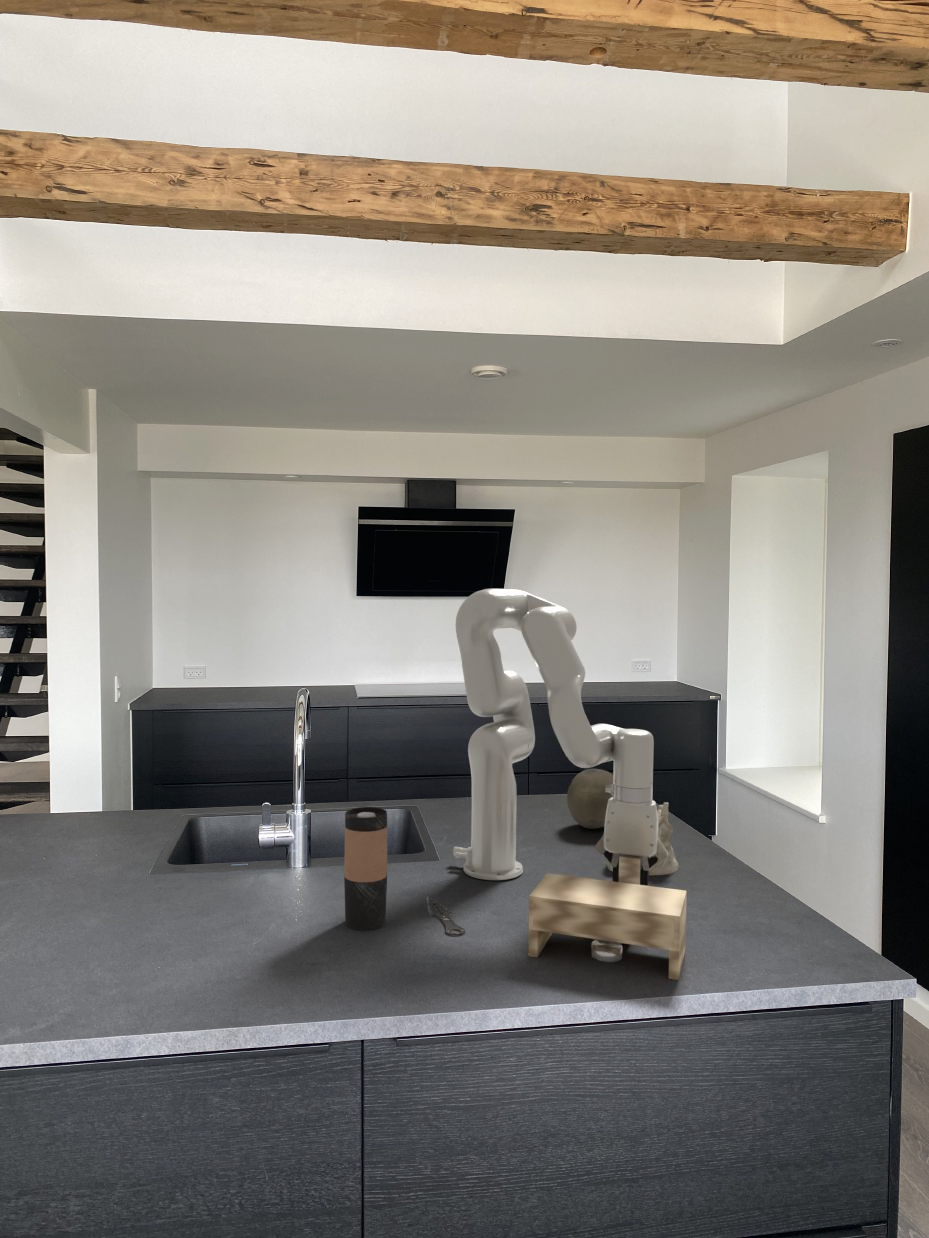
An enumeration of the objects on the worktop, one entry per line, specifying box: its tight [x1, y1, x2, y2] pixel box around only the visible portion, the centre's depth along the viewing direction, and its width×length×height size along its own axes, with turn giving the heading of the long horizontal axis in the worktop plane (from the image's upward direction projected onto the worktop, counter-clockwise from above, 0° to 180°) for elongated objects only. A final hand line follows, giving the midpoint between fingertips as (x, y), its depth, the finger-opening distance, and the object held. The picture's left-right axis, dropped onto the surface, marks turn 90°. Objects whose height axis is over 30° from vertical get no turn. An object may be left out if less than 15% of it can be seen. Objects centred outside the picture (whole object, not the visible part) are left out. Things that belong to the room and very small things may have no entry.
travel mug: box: [343, 806, 388, 931], centre depth 153 cm, size 8×8×20 cm
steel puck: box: [591, 939, 623, 963], centre depth 141 cm, size 5×5×2 cm
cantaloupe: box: [566, 768, 613, 830], centre depth 215 cm, size 14×14×15 cm
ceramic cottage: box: [605, 802, 680, 877], centre depth 188 cm, size 16×16×15 cm
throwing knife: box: [426, 895, 466, 936], centre depth 158 cm, size 4×20×1 cm, turn 18°
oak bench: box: [527, 872, 688, 981], centre depth 142 cm, size 24×12×10 cm, turn 71°
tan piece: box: [619, 854, 642, 885], centre depth 157 cm, size 6×24×8 cm, turn 161°
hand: (630, 886), depth 166 cm, fingers closed on tan piece, 4 cm apart
